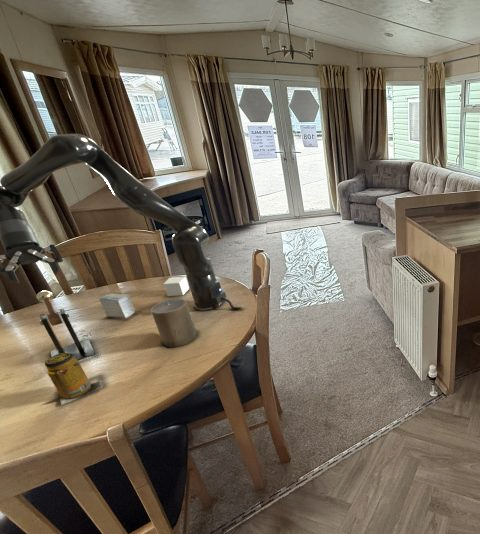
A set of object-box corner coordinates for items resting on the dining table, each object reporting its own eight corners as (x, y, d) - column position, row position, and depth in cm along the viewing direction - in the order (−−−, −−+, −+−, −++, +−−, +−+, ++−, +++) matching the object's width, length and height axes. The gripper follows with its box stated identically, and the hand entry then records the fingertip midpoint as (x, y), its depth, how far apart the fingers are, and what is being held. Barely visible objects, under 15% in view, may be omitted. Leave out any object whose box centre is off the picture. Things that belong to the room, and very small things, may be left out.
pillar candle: (202, 335, 120) (191, 299, 114) (172, 351, 112) (158, 312, 106) (187, 327, 124) (175, 292, 118) (157, 341, 116) (142, 304, 110)
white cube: (189, 288, 151) (185, 276, 149) (183, 295, 146) (179, 282, 144) (173, 289, 150) (169, 277, 148) (167, 296, 145) (163, 283, 142)
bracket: (51, 354, 109) (28, 312, 103) (89, 341, 116) (70, 301, 109) (56, 371, 102) (31, 327, 96) (96, 356, 109) (76, 315, 102)
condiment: (58, 392, 95) (38, 358, 90) (99, 376, 101) (82, 343, 96) (61, 405, 91) (41, 371, 86) (103, 388, 97) (86, 354, 92)
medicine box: (137, 314, 132) (129, 294, 128) (126, 320, 128) (118, 300, 124) (118, 312, 132) (110, 293, 129) (107, 318, 128) (98, 298, 125)
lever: (37, 298, 108) (33, 290, 106) (53, 294, 110) (49, 286, 108) (49, 328, 103) (45, 320, 100) (66, 323, 105) (62, 315, 103)
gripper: (-22, 235, 103) (-2, 280, 102) (46, 225, 113) (65, 266, 112) (-13, 247, 109) (7, 290, 107) (51, 237, 119) (70, 275, 117)
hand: (37, 277), depth 109 cm, fingers open, 8 cm apart
